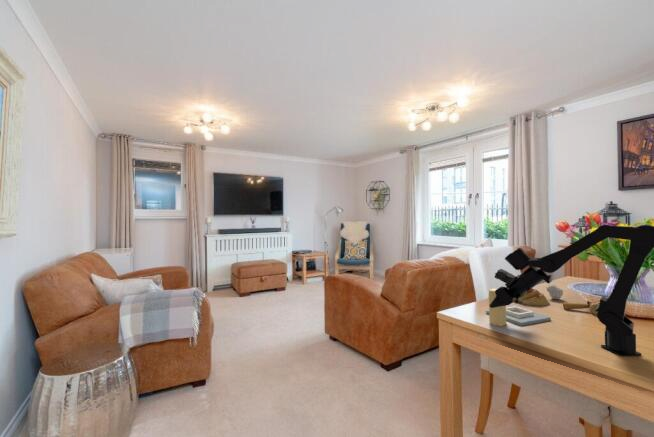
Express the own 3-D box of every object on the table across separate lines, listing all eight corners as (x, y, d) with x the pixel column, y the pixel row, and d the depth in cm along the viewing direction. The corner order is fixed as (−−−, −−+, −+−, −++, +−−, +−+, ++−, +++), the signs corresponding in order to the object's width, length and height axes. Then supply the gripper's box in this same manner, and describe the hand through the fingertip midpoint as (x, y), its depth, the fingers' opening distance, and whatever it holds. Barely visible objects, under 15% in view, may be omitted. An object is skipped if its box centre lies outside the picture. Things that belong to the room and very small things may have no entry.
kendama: (566, 315, 127) (623, 315, 118) (563, 300, 128) (619, 299, 119) (563, 313, 133) (617, 313, 124) (560, 299, 135) (613, 298, 126)
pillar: (506, 323, 115) (505, 290, 115) (502, 326, 112) (501, 292, 112) (493, 320, 118) (492, 288, 118) (489, 323, 115) (488, 290, 115)
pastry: (505, 298, 150) (505, 282, 150) (535, 298, 149) (535, 282, 149) (521, 306, 136) (521, 289, 136) (555, 306, 136) (554, 288, 136)
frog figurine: (544, 297, 150) (543, 283, 150) (560, 297, 148) (559, 283, 148) (549, 300, 144) (549, 286, 144) (566, 301, 142) (566, 286, 142)
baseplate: (550, 320, 117) (550, 313, 117) (521, 325, 112) (520, 318, 112) (513, 308, 132) (513, 302, 132) (486, 313, 127) (486, 307, 127)
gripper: (516, 260, 118) (487, 283, 126) (501, 266, 106) (469, 291, 114) (540, 283, 112) (508, 305, 121) (527, 292, 100) (492, 316, 108)
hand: (494, 304), depth 116 cm, fingers open, 9 cm apart
